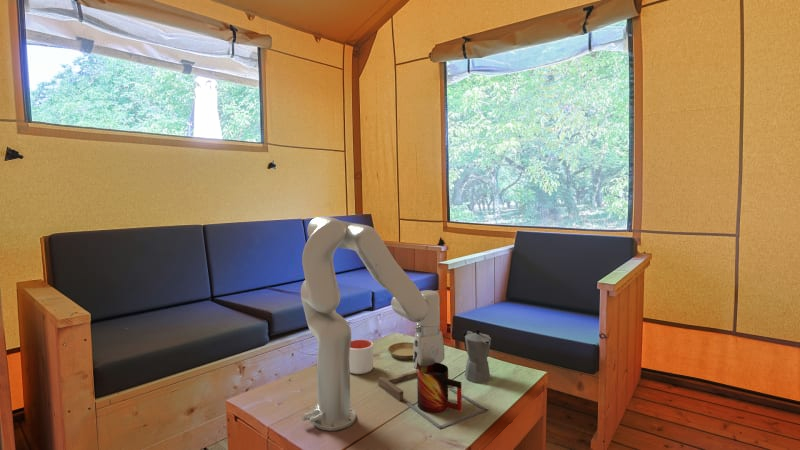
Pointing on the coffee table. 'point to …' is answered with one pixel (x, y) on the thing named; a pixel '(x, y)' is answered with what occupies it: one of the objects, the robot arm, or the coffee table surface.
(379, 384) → the frame
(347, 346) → the robot arm
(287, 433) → the coffee table surface
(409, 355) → the plant saucer
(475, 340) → the coffeepot
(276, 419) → the coffee table surface
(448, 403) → the mug
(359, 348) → the cup
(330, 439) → the coffee table surface
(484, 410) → the frame
